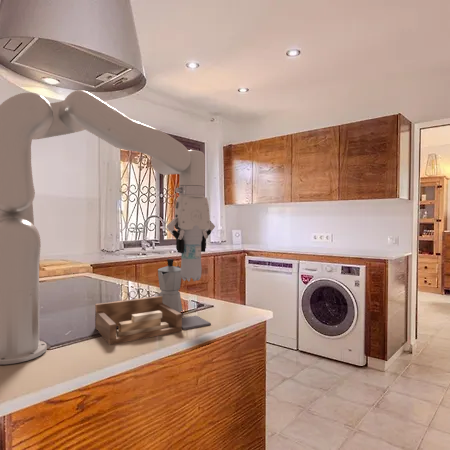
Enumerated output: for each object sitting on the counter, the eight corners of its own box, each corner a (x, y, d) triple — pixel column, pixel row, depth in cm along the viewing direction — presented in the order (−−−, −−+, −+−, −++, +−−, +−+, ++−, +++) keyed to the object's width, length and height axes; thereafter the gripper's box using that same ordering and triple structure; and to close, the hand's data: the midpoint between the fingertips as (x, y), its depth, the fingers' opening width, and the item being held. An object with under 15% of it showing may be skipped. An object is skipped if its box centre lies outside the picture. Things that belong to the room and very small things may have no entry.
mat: (183, 329, 101) (183, 327, 101) (170, 321, 109) (170, 319, 109) (210, 324, 106) (210, 322, 106) (196, 317, 114) (196, 315, 114)
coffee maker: (175, 318, 112) (175, 262, 111) (149, 316, 114) (149, 260, 113) (190, 306, 126) (191, 256, 126) (167, 304, 128) (167, 255, 128)
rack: (109, 344, 89) (109, 317, 89) (95, 328, 102) (95, 303, 101) (181, 331, 100) (181, 306, 100) (160, 317, 113) (160, 295, 112)
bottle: (198, 282, 103) (199, 214, 102) (176, 281, 104) (177, 213, 104) (204, 278, 110) (205, 214, 109) (183, 277, 111) (184, 213, 110)
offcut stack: (119, 340, 92) (119, 318, 92) (116, 337, 94) (116, 316, 94) (168, 331, 100) (169, 311, 100) (165, 328, 102) (165, 309, 102)
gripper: (170, 190, 98) (170, 255, 99) (223, 193, 108) (222, 251, 108) (159, 191, 104) (159, 252, 105) (210, 194, 114) (209, 249, 115)
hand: (191, 251), depth 107 cm, fingers closed on bottle, 6 cm apart
